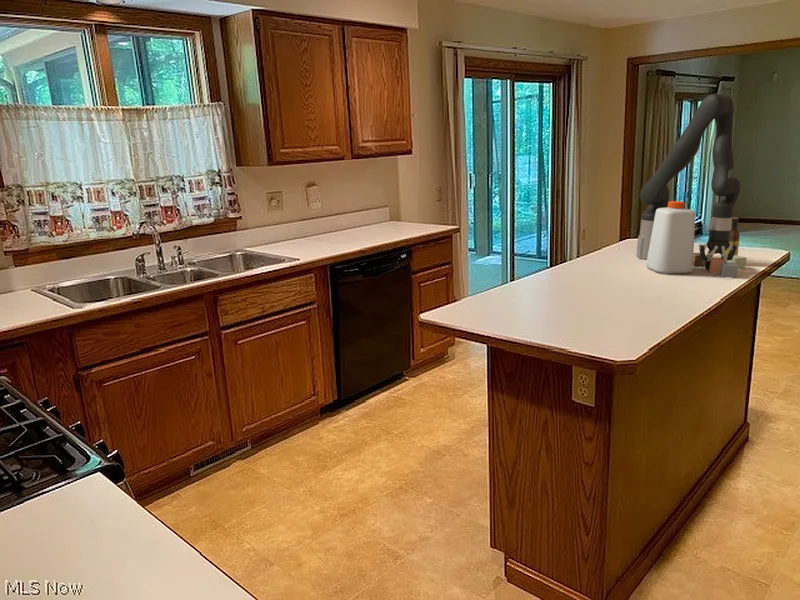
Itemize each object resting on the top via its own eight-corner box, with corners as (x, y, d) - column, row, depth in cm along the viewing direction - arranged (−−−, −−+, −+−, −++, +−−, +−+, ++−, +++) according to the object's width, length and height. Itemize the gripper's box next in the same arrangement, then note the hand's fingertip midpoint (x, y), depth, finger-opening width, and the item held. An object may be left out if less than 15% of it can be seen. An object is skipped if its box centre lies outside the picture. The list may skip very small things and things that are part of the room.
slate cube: (721, 277, 230) (723, 264, 228) (719, 274, 234) (721, 262, 233) (736, 278, 228) (738, 265, 227) (733, 275, 233) (735, 263, 231)
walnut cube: (693, 267, 248) (695, 255, 246) (687, 264, 252) (688, 253, 251) (705, 266, 248) (706, 255, 247) (698, 264, 253) (699, 252, 251)
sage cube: (734, 270, 241) (736, 258, 240) (725, 267, 246) (726, 255, 245) (744, 269, 243) (746, 257, 241) (735, 266, 247) (736, 255, 246)
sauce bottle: (732, 262, 255) (739, 216, 249) (739, 265, 249) (746, 218, 243) (716, 262, 255) (723, 216, 250) (722, 265, 249) (729, 218, 244)
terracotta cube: (710, 272, 238) (711, 260, 237) (705, 269, 243) (707, 257, 241) (723, 272, 237) (725, 260, 236) (718, 269, 242) (720, 257, 241)
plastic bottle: (696, 274, 235) (705, 203, 227) (659, 275, 234) (667, 204, 226) (676, 265, 250) (684, 199, 242) (642, 266, 249) (649, 200, 241)
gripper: (735, 227, 238) (729, 268, 242) (698, 226, 240) (692, 267, 245) (743, 230, 231) (737, 272, 235) (704, 229, 233) (698, 271, 237)
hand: (714, 269), depth 240 cm, fingers closed on terracotta cube, 5 cm apart
